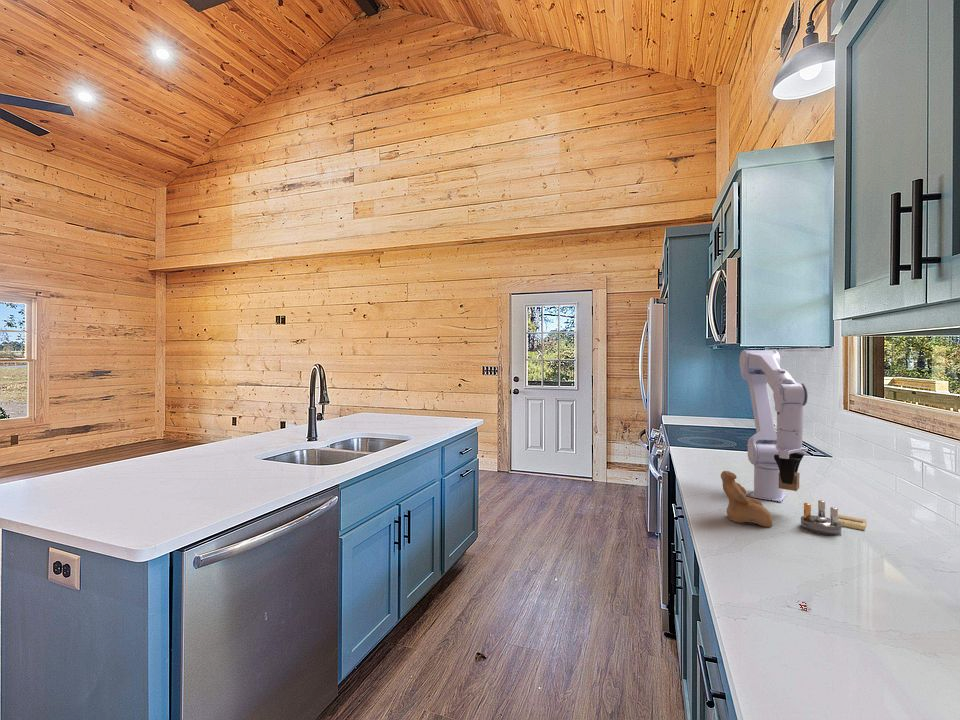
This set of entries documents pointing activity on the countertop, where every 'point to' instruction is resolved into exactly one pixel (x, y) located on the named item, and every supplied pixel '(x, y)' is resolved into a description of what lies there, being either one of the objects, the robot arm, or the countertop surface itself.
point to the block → (793, 486)
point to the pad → (852, 522)
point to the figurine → (743, 503)
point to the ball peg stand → (821, 520)
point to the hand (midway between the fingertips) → (788, 481)
